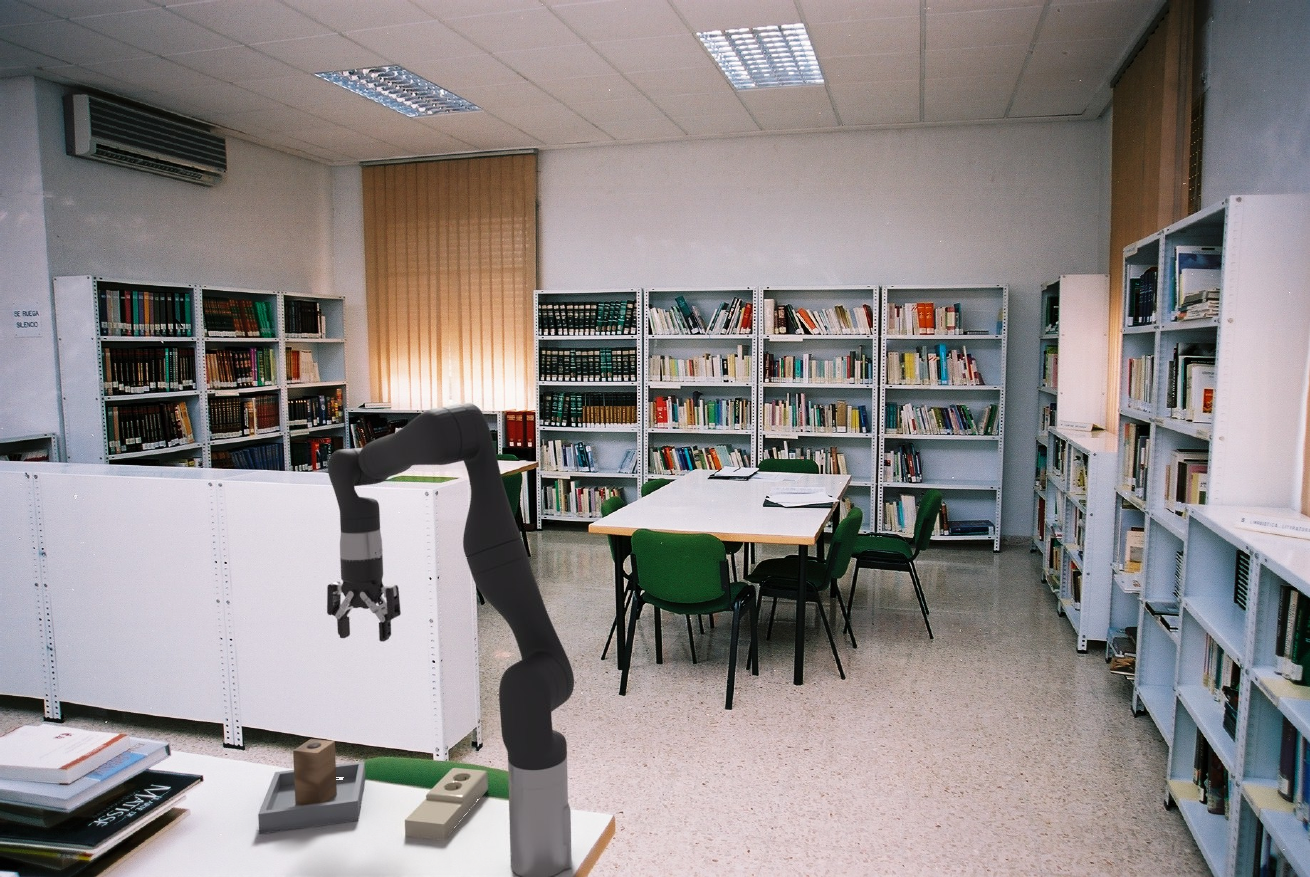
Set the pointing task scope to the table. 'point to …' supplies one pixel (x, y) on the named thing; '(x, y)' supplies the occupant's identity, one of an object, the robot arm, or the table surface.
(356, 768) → the tray
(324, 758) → the block
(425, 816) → the electrical outlet
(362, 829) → the table surface
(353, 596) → the robot arm
